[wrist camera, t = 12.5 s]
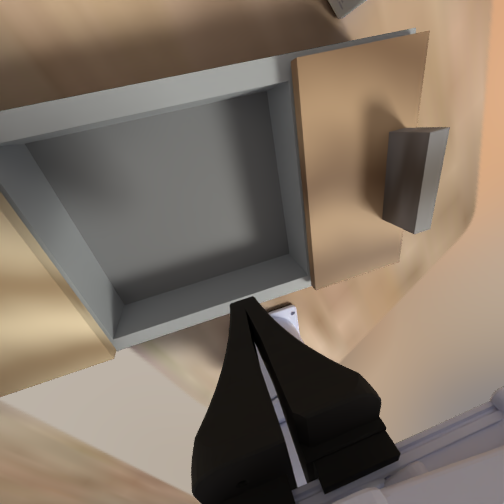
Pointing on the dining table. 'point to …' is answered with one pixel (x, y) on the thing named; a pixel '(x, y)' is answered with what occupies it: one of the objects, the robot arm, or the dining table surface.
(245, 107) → the lid box
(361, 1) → the medicine box
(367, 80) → the wooden sliding lid
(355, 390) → the robot arm
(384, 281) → the dining table surface
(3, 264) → the ash panel
